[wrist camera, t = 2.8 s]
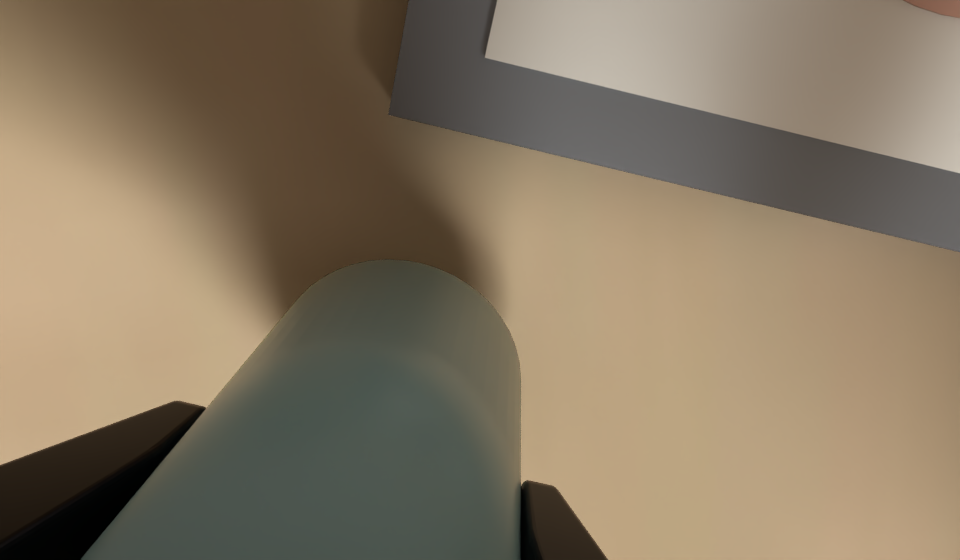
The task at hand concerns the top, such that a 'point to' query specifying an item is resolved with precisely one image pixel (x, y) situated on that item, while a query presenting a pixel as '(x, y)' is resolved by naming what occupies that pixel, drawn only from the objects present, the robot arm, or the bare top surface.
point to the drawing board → (713, 96)
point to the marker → (349, 435)
